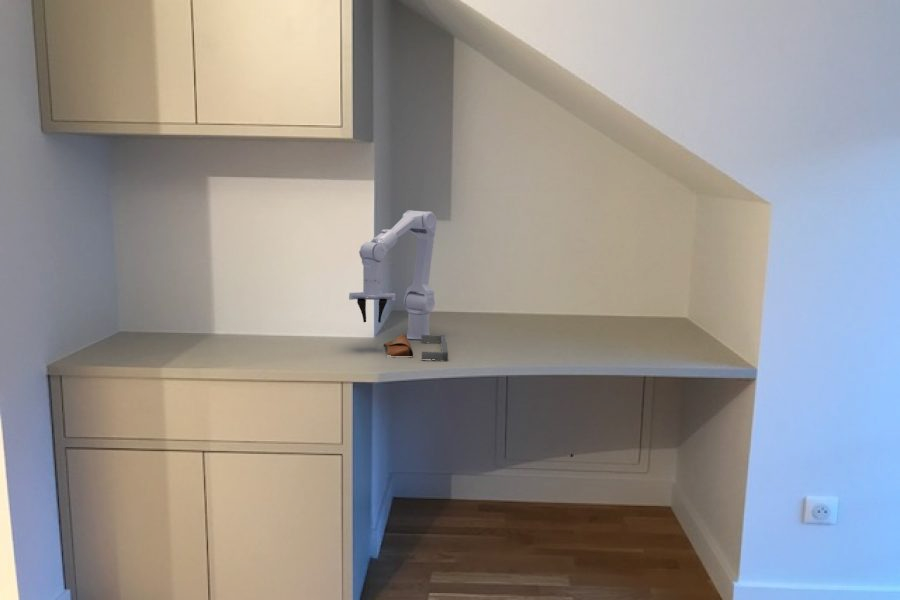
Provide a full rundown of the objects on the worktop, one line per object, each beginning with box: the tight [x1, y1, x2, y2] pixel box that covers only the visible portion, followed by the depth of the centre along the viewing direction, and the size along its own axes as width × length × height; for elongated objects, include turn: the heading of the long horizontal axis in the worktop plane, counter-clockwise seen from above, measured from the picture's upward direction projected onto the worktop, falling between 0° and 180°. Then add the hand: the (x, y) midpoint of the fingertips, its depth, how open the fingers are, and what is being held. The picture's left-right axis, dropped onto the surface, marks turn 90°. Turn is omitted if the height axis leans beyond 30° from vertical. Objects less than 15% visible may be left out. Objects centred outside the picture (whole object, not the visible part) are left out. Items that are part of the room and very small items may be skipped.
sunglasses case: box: [383, 333, 414, 357], centre depth 228 cm, size 18×7×7 cm
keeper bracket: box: [420, 334, 449, 360], centre depth 229 cm, size 24×8×2 cm, turn 3°
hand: (372, 321), depth 226 cm, fingers open, 4 cm apart
